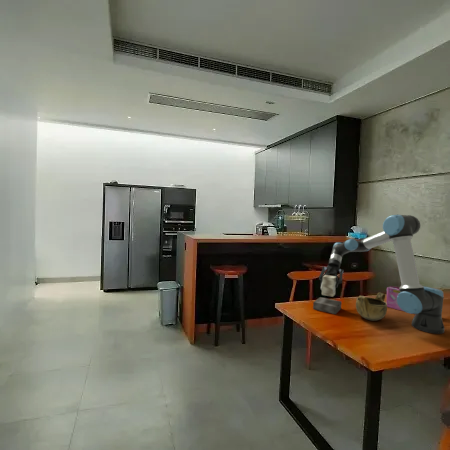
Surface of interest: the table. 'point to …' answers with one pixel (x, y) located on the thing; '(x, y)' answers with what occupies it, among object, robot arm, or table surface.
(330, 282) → the birch block
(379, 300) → the khaki rounded piece
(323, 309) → the charcoal plinth
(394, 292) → the gum box
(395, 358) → the table surface
